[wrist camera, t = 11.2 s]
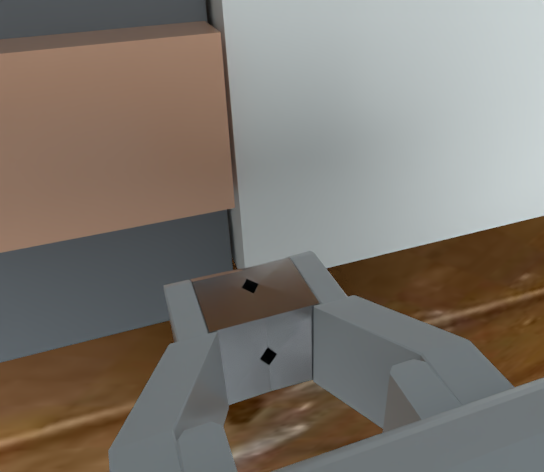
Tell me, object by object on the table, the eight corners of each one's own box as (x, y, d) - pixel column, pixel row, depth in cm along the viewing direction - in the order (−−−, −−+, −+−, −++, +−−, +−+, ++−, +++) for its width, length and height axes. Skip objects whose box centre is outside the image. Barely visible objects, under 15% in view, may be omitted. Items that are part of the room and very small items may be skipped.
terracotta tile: (204, 20, 17) (220, 32, 15) (220, 182, 20) (235, 207, 18) (-103, 48, 14) (-127, 66, 13) (-29, 226, 18) (-40, 260, 16)
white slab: (635, -127, 20) (698, -133, 18) (545, 185, 28) (583, 205, 26) (193, -113, 16) (212, -119, 14) (231, 256, 23) (246, 287, 21)
